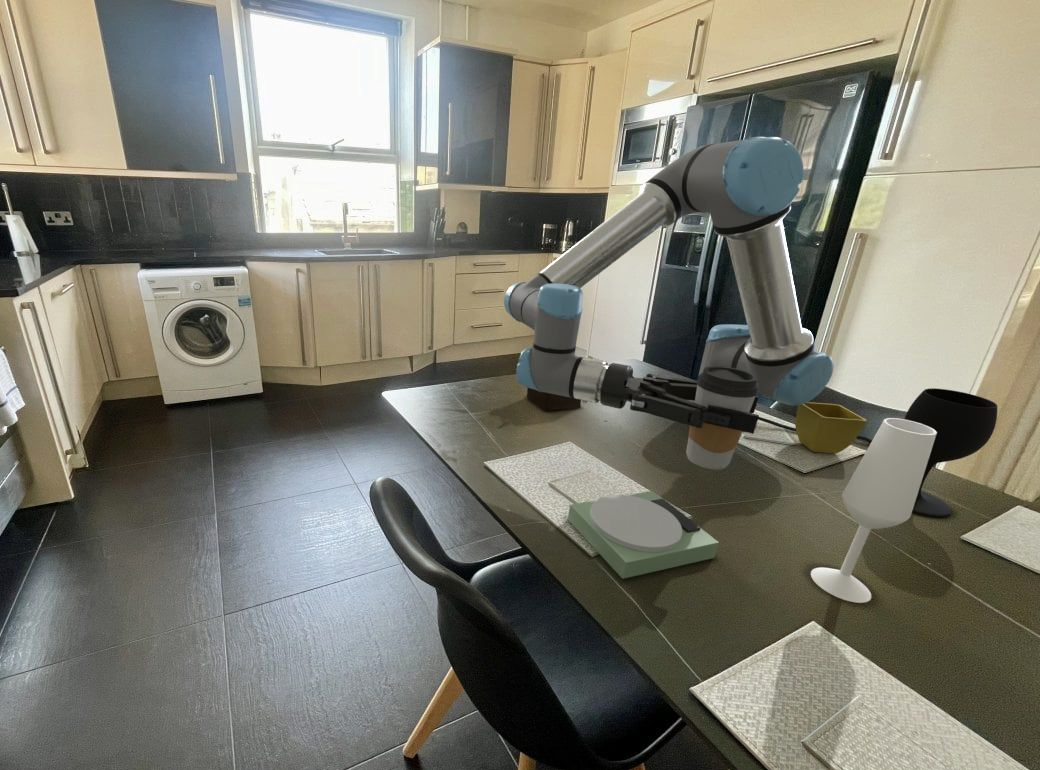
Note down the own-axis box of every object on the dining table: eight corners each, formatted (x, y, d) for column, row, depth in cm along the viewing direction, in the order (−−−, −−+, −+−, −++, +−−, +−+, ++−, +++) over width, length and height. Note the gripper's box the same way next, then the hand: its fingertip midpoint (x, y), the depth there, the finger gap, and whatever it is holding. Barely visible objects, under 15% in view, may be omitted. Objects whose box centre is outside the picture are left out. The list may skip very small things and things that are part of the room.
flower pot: (826, 440, 109) (840, 404, 106) (853, 459, 101) (868, 420, 98) (785, 437, 110) (797, 401, 107) (808, 456, 102) (822, 417, 99)
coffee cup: (730, 453, 82) (754, 369, 76) (740, 477, 74) (768, 386, 69) (676, 444, 84) (696, 362, 78) (681, 467, 77) (704, 378, 71)
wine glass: (935, 493, 90) (984, 393, 82) (963, 524, 81) (1021, 415, 73) (865, 479, 93) (906, 382, 86) (885, 507, 85) (932, 402, 77)
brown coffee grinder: (583, 408, 122) (594, 339, 116) (545, 412, 119) (554, 341, 112) (551, 387, 136) (559, 324, 129) (516, 390, 132) (522, 325, 126)
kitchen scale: (648, 504, 83) (653, 486, 82) (714, 557, 71) (720, 537, 69) (567, 519, 78) (570, 499, 77) (622, 579, 66) (627, 557, 65)
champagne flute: (853, 608, 62) (930, 442, 53) (799, 574, 68) (861, 419, 59) (882, 594, 65) (960, 433, 56) (828, 562, 71) (891, 411, 62)
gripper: (615, 386, 94) (749, 413, 83) (584, 423, 77) (748, 464, 66) (621, 349, 91) (762, 372, 80) (591, 379, 74) (764, 414, 64)
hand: (756, 414), depth 73 cm, fingers closed on coffee cup, 8 cm apart
